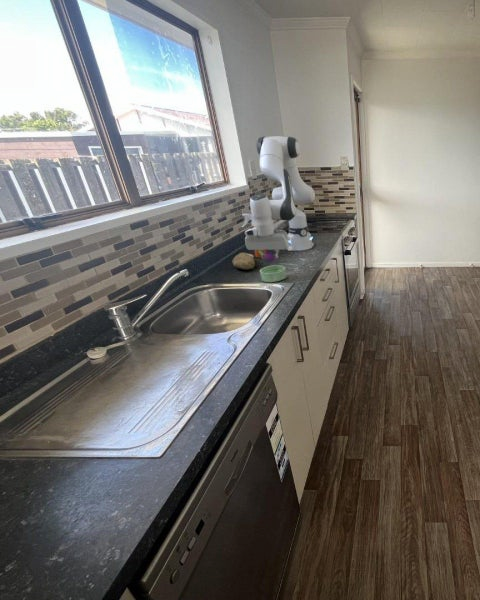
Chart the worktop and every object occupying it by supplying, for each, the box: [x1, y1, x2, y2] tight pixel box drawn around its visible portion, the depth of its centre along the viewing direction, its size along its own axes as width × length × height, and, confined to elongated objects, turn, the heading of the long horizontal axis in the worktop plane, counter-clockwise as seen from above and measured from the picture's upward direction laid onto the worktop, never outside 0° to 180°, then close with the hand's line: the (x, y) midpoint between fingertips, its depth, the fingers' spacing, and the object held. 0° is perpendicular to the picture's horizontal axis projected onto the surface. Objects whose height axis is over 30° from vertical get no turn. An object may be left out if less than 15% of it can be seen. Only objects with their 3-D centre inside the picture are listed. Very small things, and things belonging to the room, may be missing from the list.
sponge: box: [231, 252, 256, 271], centre depth 183 cm, size 13×8×20 cm
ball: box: [264, 250, 276, 263], centre depth 162 cm, size 5×5×5 cm
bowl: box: [259, 264, 287, 283], centre depth 167 cm, size 12×12×5 cm
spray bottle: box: [241, 213, 267, 259], centre depth 196 cm, size 7×11×26 cm, turn 123°
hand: (270, 257), depth 163 cm, fingers closed on ball, 5 cm apart
